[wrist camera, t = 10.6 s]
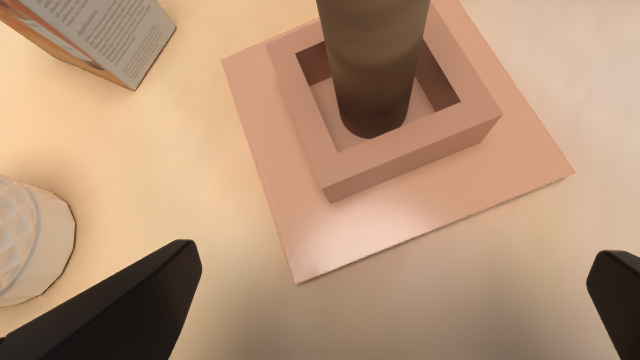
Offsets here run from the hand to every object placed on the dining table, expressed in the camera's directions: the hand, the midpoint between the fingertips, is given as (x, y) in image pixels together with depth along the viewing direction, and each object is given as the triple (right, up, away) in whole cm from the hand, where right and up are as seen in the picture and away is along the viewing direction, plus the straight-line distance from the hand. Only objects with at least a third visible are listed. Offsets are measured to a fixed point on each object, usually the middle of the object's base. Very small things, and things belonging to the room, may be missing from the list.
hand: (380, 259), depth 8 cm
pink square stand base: (+2, +5, +11) cm, 12 cm away
